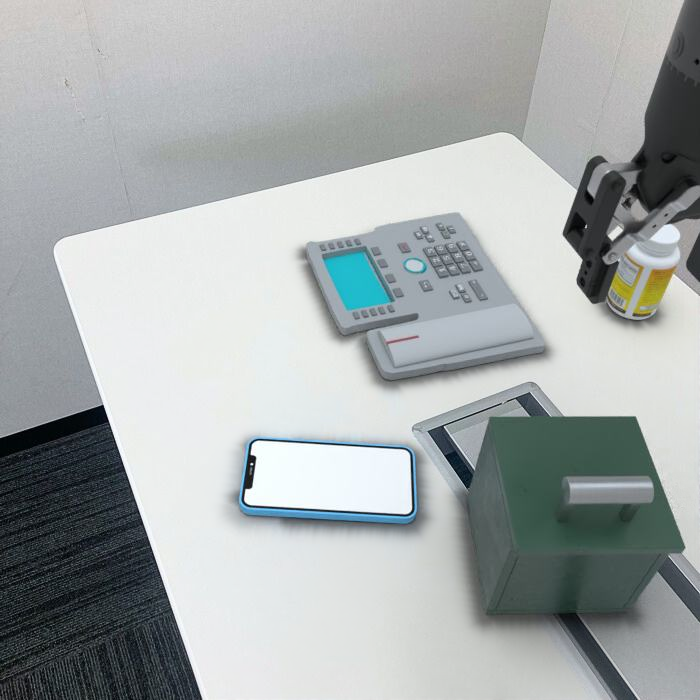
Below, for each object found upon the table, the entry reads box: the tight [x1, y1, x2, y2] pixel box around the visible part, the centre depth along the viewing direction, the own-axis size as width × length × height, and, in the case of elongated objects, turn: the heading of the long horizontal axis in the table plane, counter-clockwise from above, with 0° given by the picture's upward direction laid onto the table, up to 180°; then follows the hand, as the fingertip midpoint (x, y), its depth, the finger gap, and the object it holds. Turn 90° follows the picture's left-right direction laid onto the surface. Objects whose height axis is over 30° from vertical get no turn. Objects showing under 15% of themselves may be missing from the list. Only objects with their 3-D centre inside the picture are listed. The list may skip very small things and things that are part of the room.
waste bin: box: [465, 423, 670, 615], centre depth 58 cm, size 10×11×11 cm
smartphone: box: [238, 436, 418, 525], centre depth 66 cm, size 8×1×15 cm
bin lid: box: [487, 415, 686, 556], centre depth 52 cm, size 11×11×5 cm
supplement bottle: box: [606, 224, 681, 321], centre depth 80 cm, size 6×6×10 cm
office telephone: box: [305, 211, 546, 381], centre depth 83 cm, size 23×3×20 cm
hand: (645, 285), depth 52 cm, fingers open, 8 cm apart
